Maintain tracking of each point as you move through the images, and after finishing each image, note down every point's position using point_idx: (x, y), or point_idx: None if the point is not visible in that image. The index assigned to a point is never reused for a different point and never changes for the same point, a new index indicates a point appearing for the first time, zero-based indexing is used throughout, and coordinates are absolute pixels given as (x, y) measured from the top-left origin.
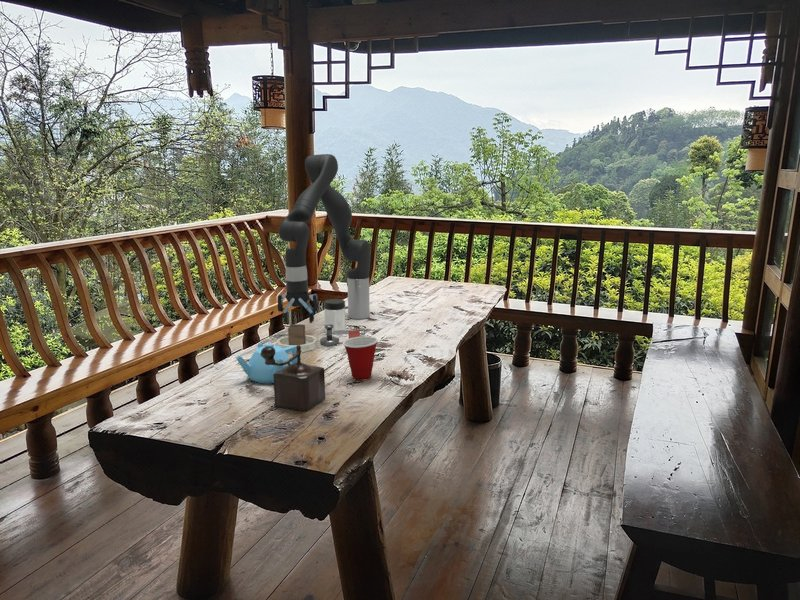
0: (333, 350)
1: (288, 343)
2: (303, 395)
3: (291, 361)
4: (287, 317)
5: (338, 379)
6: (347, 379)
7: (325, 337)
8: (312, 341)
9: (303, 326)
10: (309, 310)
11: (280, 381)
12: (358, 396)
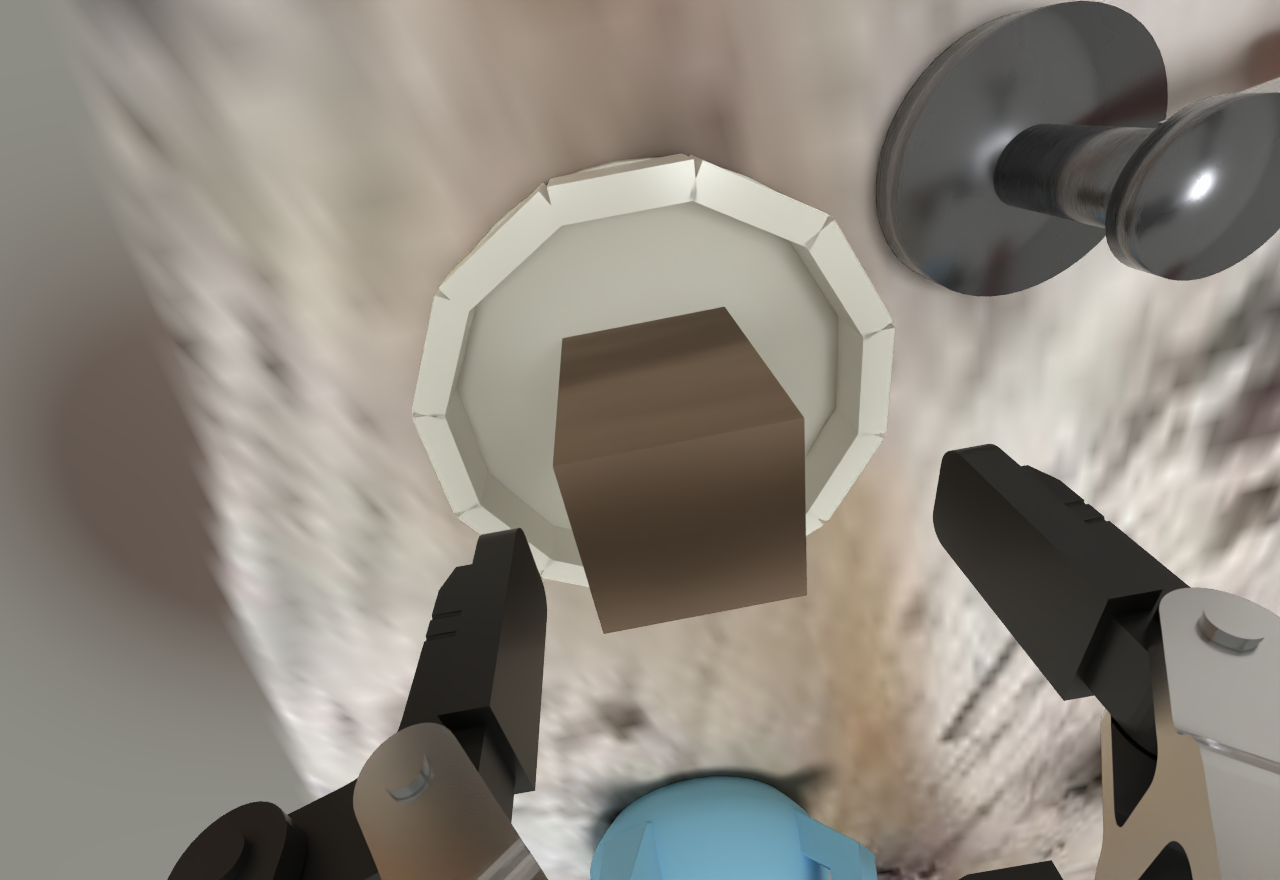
0: (1027, 394)
1: (531, 366)
2: None
3: (818, 863)
4: (538, 687)
5: (1030, 774)
6: (1073, 765)
7: (974, 70)
8: (802, 259)
9: (805, 520)
10: (1144, 781)
11: None
12: (1093, 847)
